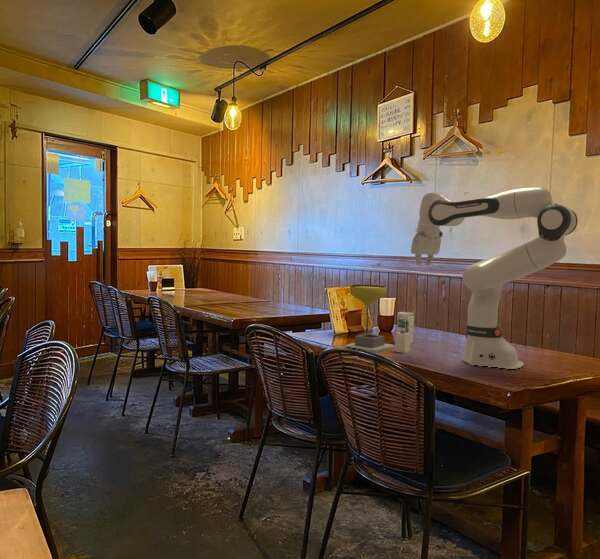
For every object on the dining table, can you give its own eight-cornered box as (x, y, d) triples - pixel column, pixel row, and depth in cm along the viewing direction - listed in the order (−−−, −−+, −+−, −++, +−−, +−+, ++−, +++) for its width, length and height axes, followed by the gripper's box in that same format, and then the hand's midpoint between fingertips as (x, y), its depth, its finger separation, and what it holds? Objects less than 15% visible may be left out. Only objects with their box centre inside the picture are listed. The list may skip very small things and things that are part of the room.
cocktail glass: (345, 332, 257) (346, 284, 255) (379, 332, 259) (380, 285, 257) (353, 339, 239) (354, 287, 237) (389, 339, 241) (391, 287, 240)
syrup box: (396, 343, 231) (397, 312, 230) (402, 341, 236) (403, 311, 235) (406, 344, 227) (407, 313, 226) (413, 343, 232) (414, 312, 231)
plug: (409, 351, 213) (410, 330, 212) (404, 353, 209) (405, 332, 209) (400, 350, 216) (400, 329, 215) (395, 351, 212) (395, 330, 212)
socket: (394, 347, 222) (394, 336, 221) (376, 352, 209) (376, 340, 209) (363, 342, 232) (363, 331, 231) (344, 347, 219) (344, 336, 219)
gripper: (423, 231, 197) (419, 266, 199) (444, 233, 213) (440, 265, 215) (409, 230, 201) (405, 264, 203) (430, 232, 217) (426, 263, 218)
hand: (423, 264), depth 209 cm, fingers open, 8 cm apart
